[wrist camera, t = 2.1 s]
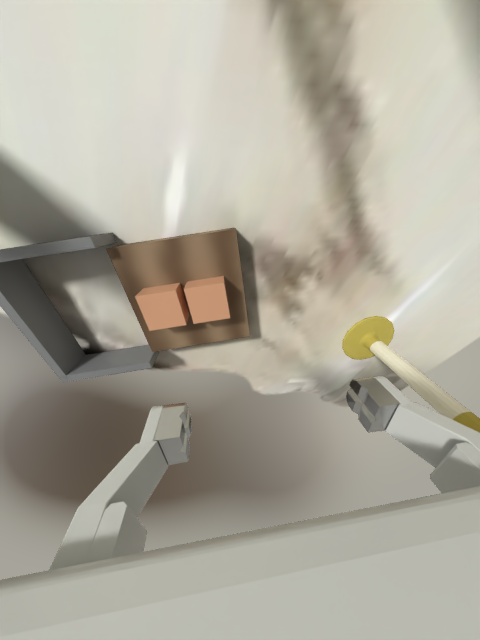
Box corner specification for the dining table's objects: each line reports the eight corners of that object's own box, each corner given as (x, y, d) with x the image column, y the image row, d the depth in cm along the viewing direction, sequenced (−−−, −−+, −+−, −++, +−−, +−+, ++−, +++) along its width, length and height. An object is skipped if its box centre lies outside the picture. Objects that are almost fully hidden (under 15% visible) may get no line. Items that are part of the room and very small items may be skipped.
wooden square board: (234, 227, 26) (236, 229, 24) (247, 327, 34) (249, 336, 31) (117, 245, 26) (106, 248, 24) (157, 341, 34) (152, 352, 31)
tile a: (223, 275, 26) (223, 282, 24) (229, 308, 29) (230, 318, 26) (187, 281, 26) (183, 288, 24) (196, 313, 29) (193, 323, 26)
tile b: (180, 282, 26) (175, 290, 24) (189, 314, 29) (186, 325, 26) (143, 288, 26) (134, 296, 24) (156, 320, 29) (149, 330, 26)
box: (112, 232, 25) (89, 236, 21) (160, 348, 35) (151, 368, 30) (5, 248, 25) (-41, 255, 21) (82, 361, 34) (62, 382, 30)
